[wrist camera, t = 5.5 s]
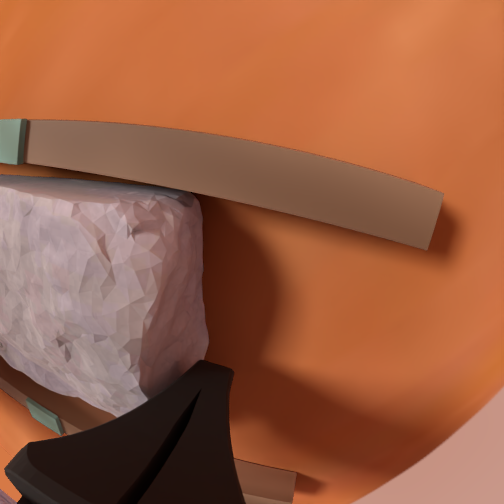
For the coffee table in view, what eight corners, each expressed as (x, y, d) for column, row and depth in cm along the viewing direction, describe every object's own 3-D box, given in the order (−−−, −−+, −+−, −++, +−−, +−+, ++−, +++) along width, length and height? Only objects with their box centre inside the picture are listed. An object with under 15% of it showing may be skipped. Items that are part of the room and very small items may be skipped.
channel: (288, 485, 14) (283, 518, 12) (-13, 350, 17) (-32, 365, 14) (420, 182, 9) (449, 193, 6) (-38, 122, 11) (-67, 125, 9)
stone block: (219, 377, 14) (219, 163, 9) (183, 463, 10) (127, 232, 5) (42, 315, 17) (-1, 157, 11) (-4, 364, 13) (-76, 196, 7)
